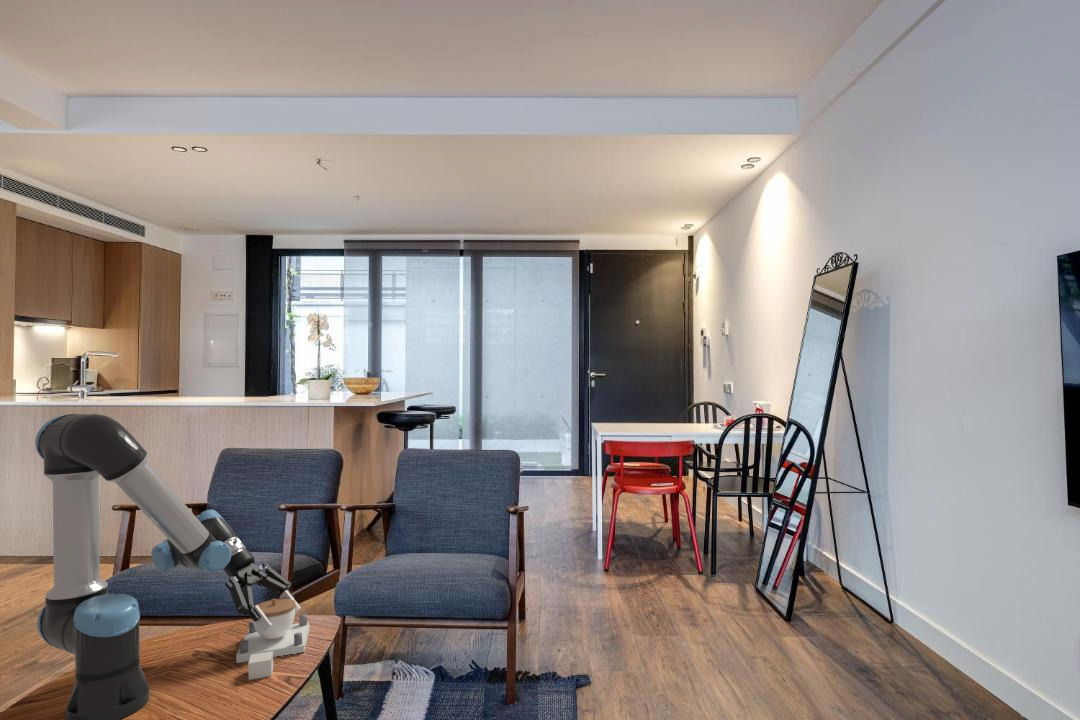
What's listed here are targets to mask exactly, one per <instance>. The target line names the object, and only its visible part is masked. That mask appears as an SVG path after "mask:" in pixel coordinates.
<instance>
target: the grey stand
mask: <svg viewBox="0 0 1080 720" xmlns="http://www.w3.org/2000/svg"><path fill="white" fill-rule="evenodd" d="M298 617H299V619H298V620H299V623H293V624H292V626H291V628H290V629H289V630H288V631H287V633H286V634H285V635H284V636H282V637H279V638H276V639H264V638H262V636H261V635H259V634H258V633H257V631H256V630H255V627H254V624H253V620H251V621H249V622H248V630H247V632H246V634H245V635H244V637H243V640H241V641H240V642H238V643H239V644H238V645H239V648H238V651H237V653H236V655H235V656H236V658H235V659H236V664H239V663H240V664H241V663H247V662H249V660H250V656H251V655H252V654H258V653H264V652H271V651H273V657H274V658H277V657H276V656H281V657H284V656H283V655H288V656H290V655H289V654H294V655H297V654H296V653H301V652H304V653H305V651H304V650H306V647H305V645H306V646H307V642H306V641H308V638H307V637H309V634H308V633H309V632H310V629H311V628H310V622H309V621H308V615H307V614H305V613H304V614H300V615H298ZM301 654H302V653H301ZM246 661H247V662H246Z"/></svg>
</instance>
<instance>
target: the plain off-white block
mask: <svg viewBox="0 0 1080 720" xmlns="http://www.w3.org/2000/svg"><path fill="white" fill-rule="evenodd" d="M247 663H248V664H247V666H248V667H247V668H248V671H247V672H248V680H249V681H251V680H256V679H261V678H262V679H263V678H267V677H272V675H273V670H274V658H273V651H271V652H264V653H258V654H252V655H251V656H250V660H249V661H248V662H247Z"/></svg>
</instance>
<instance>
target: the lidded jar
mask: <svg viewBox="0 0 1080 720" xmlns="http://www.w3.org/2000/svg"><path fill="white" fill-rule="evenodd" d="M295 601H296V600H295ZM295 601H294V600H292V599H286V598H280V597H279V598H272V599H269V600H264V601H261V602H260V603H257V604H256V605H258V606H259V608H260V609H261V610H262V612H263V613H264V614H265V615H266V617H267V618H268V619H269V620H270V622H271V623H272V625H271V626H270V627H269V629H268V630H267V631H265V632H264V631H263V630H262V629H261V627H260V626H259V625H258V623H257V622H255V621H253V620H252V621H253V624H254V627H255V630H256V631H257V633H258V634H259V635H261V636H262V638H264V639H276V638H279V637H282V636H284V635H285V634H286V633H287V631H288V630H289V629H290V628H291V626H292V624H294V621H295V617H296V614H295ZM256 605H254V607H255V606H256Z"/></svg>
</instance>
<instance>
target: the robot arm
mask: <svg viewBox="0 0 1080 720" xmlns="http://www.w3.org/2000/svg"><path fill="white" fill-rule="evenodd" d="M34 444H35V445H34V446H35V450H36V452H37V454H38V455H39V457H40V458H42V459H43V476H45V477H46V478H47V479H49V480H50V481H51V482H52V526H53V527H52V532H53V533H52V534H53V536H52V537H53V539H52V540H53V541H52V542H53V545H52V546H53V547H52V548H53V586H52V588H50V590H48V591H47V592H46V593H45V605H44V606H43V608H42V609H41V610H40V612H39V614H38V617H37V622H36V626H37V627H36V629H37V632H38V633H39V636H40V638H41V639H42V640H44V642H46V643H47V644H48V645H49V646H51V647H54V648H55V649H58V650H59V649H60V650H63V651H66V652H68V653H70V654H73V655H74V659H75V661H74V667H75V669H74V670H75V673H74V674H75V681H74V685H73V687H72V691H71V692H70V697H69V699H68V702H67V705H66V707H65V708H66V709H65V720H121V719H123V718H126V717H128V716H130V715H132V714H134V713H136V712H137V711H139V710H141V708H143V707H144V706H146V704H147V703H148V702H149V700H150V698H151V696H150V695H151V694H150V691H151V690H150V685H149V682H148V680H147V678H146V676H145V674H144V670H143V669H142V666H141V661H140V660H141V659H140V658H141V657H140V651H141V650H140V649H141V647H140V618H141V611H140V609H139V603H138V600H137V599H136V598H135V597H134V596H132V595H130V594H125V593H118V594H116V593H109V584H108V582H107V581H106V580H104V579H102V577H101V573H100V572H101V571H100V570H101V569H100V568H101V566H100V564H101V563H100V561H101V559H100V495H99V494H100V492H99V490H100V486H99V485H100V484H99V482H100V481H99V477H100V476H102V478H103V479H104V480H105V481H107V482H114V483H115V484H116V486H118V487H119V488H120V489H121V490H122V491H123V493H124V494H125V495H126V496H127V497H128V498H129V499H130V500H131V502H133V504H135V506H137V507H138V509H139V510H140V511H141V512H142V513H143V514H144V515H145V516H146V517H147V518H148V519H149V521H151V523H152V524H153V525H155V526H156V528H157V529H158V530H159V531H160V533H162V534H163V536H165V537H166V539H164V540H163V541H161V542H159V543H158V544H156V545H155V546H154V547H153V548H152V549H151V553H150V554H151V559H152V562H153V564H154V565H155V567H156V568H157V570H159V571H160V572H163V573H166V572H169V571H171V570H175V569H176V568H178V567H179V566H180V567H183V568H189V569H193V570H198V571H201V572H203V573H219V572H221V571H222V570H223V571H224V572H225V573H226V575H227V577H228V579H227V581H226V582H225V583H224V585H225V586H226V588H227V589H228V590H229V592H230V595H231V598H232V601H233V604H234V605H235V608H236V611H237V613H238V614H239V615H241V614H242V615H243V616H247V615H248V616H250V618H251V620H252V621H255V622H257V623H258V625H259V626H260V627H261V629H262V630H263V631H264V632H265V631H267V630H268V629H269V627H270V626H271V625H272V623H271V622H270V620H269V619H268V618H267V617H266V615H265V614H264V613H263V612H262V610H261V609H260V608H259V606H258V605H257V604H255V605H254V596H253V588H252V587H253V586H256V585H258V586H262V587H265V588H267V589H268V590H270V591H272V592H275V593H276V594H278V595H280V596H279V599H280V598H286V599H292V600H294V601H295V615H297V613H298V612H299V611H300V610H301V609H302V607H301V605H299V603H298V601H296V600H295V596H294V595H293V594H292V593H291V591H290V590H289V589H290V587H291V585H292V583H291V582H290V581H289V580H288V579H287V578H285V577H283V576H282V575H281V574H279V573H278V572H277V571H276V570H274V569H273V568H272V567H271V566H270V565H269V564H268V562H266V561H265V562H263V563H262V564H261V565H258V564H256V562H255V560H256V559H255V557H254V555H253V554H252V552H251V551H249V549H246V545H244V544H243V542H242V540H240V538H239V537H238V536H237V535H236V533H235V531H234V530H233V529H232V528H231V527H230V525H229V524H228V523H227V521H226V520H225V518H223V517H222V515H221V514H220V513H219V512H218V511H217V510H215V509H207V510H204V511H202V512H200V513H199V514H198V515H195V514H194V512H192V511H191V509H190V508H189V507H188V506H187V505H186V503H185V502H184V501H182V499H181V498H180V497H179V496H178V495H177V493H176V492H175V491H174V489H172V488H171V486H170V485H169V483H167V481H166V480H164V478H163V477H162V476H161V475H160V474H159V473H158V471H157V470H156V469H155V467H154V466H153V465H152V464H151V463H150V462H149V461H148V460H147V459H148V454H149V453H148V452H147V451H146V450H145V449H144V447H143V446H142V445H141V444H140V443H139V442H138V441H137V439H135V437H134V436H133V435H132V434H131V432H129V430H127V429H126V427H124V426H123V425H122V424H121V423H119V422H118V421H117V420H116V419H114V418H112V417H110V416H107V415H105V414H98V413H97V414H96V413H89V414H87V413H86V414H85V413H70V414H63V415H59V416H56V417H54V418H51V419H49V420H47V422H45V424H43V425H42V426H41V427H40V428H39V430H38V431H37V434H36V436H35V442H34ZM254 606H255V607H254Z"/></svg>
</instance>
